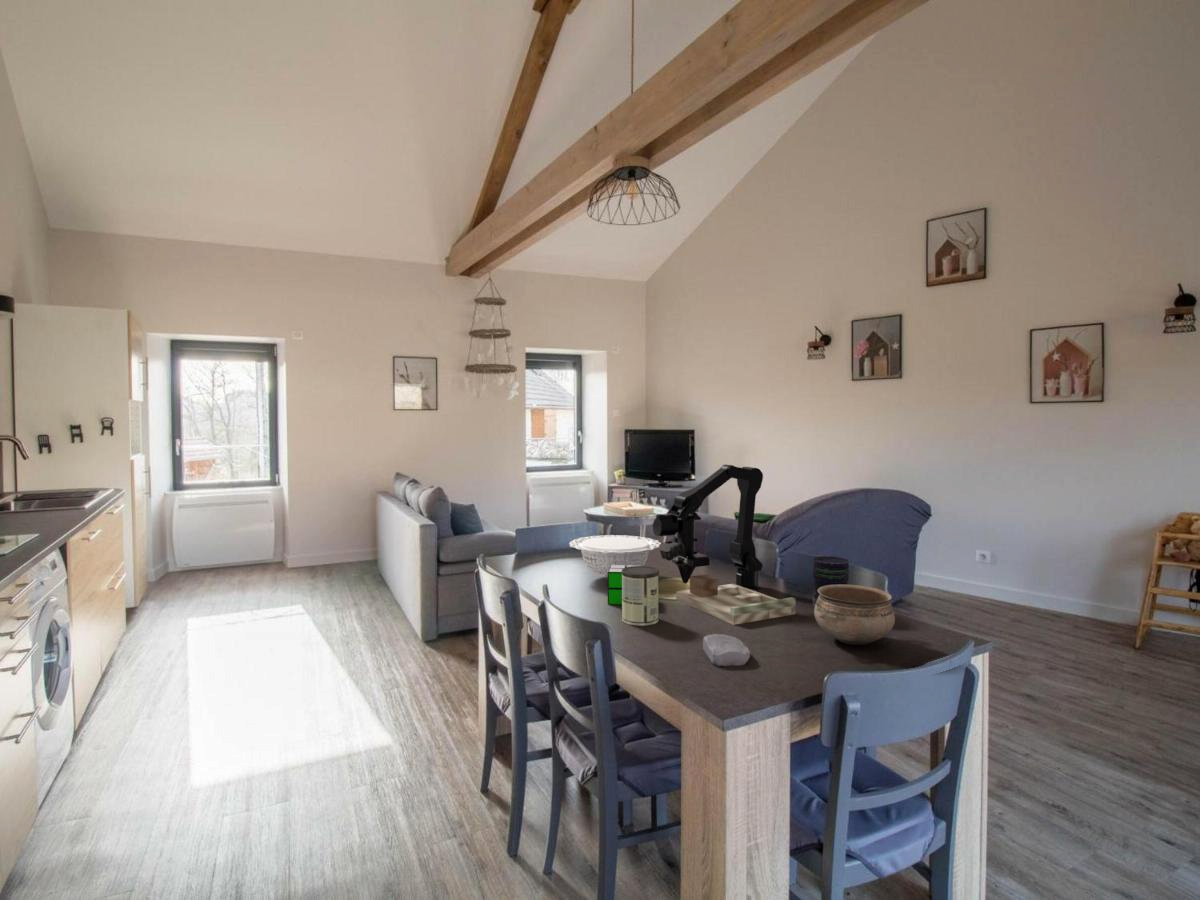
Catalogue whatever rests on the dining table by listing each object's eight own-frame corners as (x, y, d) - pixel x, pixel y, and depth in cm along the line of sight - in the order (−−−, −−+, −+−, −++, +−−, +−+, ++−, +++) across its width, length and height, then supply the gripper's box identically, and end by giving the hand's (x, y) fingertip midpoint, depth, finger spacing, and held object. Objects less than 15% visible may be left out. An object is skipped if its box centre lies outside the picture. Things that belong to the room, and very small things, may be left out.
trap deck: (733, 591, 217) (733, 577, 216) (795, 614, 192) (795, 598, 191) (675, 599, 206) (676, 585, 206) (733, 624, 182) (733, 608, 181)
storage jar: (849, 608, 198) (850, 558, 197) (846, 617, 189) (847, 564, 188) (814, 604, 202) (815, 555, 201) (810, 613, 193) (811, 561, 192)
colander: (677, 576, 237) (677, 540, 236) (632, 596, 210) (632, 556, 209) (600, 565, 254) (600, 531, 253) (550, 582, 227) (550, 545, 227)
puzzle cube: (642, 597, 210) (642, 565, 209) (641, 606, 200) (641, 572, 199) (610, 596, 211) (610, 564, 210) (607, 605, 201) (607, 571, 200)
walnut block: (705, 590, 208) (706, 574, 208) (717, 595, 202) (717, 578, 202) (689, 592, 205) (689, 576, 205) (701, 597, 200) (701, 580, 199)
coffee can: (627, 613, 192) (627, 564, 191) (662, 616, 189) (663, 567, 188) (616, 623, 182) (616, 572, 182) (653, 627, 179) (653, 575, 178)
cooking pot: (855, 662, 154) (856, 610, 153) (789, 640, 170) (790, 592, 169) (916, 642, 168) (918, 594, 167) (851, 623, 184) (852, 578, 183)
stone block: (738, 655, 164) (698, 648, 163) (742, 636, 164) (702, 629, 163) (752, 675, 152) (710, 668, 151) (757, 655, 152) (715, 648, 151)
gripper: (648, 531, 216) (647, 579, 217) (680, 541, 200) (680, 593, 201) (677, 529, 221) (676, 576, 222) (711, 538, 205) (710, 588, 206)
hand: (685, 583), depth 213 cm, fingers closed
